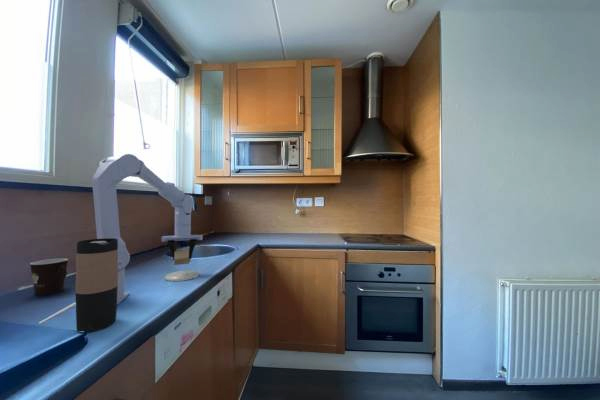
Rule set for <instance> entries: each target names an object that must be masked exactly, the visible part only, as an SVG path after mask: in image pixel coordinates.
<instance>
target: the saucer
mask: <svg viewBox="0 0 600 400" xmlns="http://www.w3.org/2000/svg"><path fill="white" fill-rule="evenodd" d="M198 275H200V272H199V271H197V270H192V269H191V270H180V271H174V272H170V273H168V274H166V275H165V276H164V280H165V281H167V282H185V281H184V280H186V281H190V280H193V279H192V278H194V279H196V278H198V277H199V276H198ZM197 276H198V277H197ZM195 277H196V278H195ZM189 279H190V280H189Z"/></svg>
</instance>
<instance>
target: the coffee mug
mask: <svg viewBox="0 0 600 400" xmlns="http://www.w3.org/2000/svg"><path fill="white" fill-rule="evenodd" d="M68 261H69V258H62V257H60V258H51V259H43V260H38V261H33V262H30V263H29V265H30V273H31V277H32V285H33V292H34V295H35V296H37V297H38V296H49V295H53V294H57V293H61V292H62V291H64V285H65V281H66V280H65V279H66V277H67V275H68V272H67V271H68V270H67V267H68Z"/></svg>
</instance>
